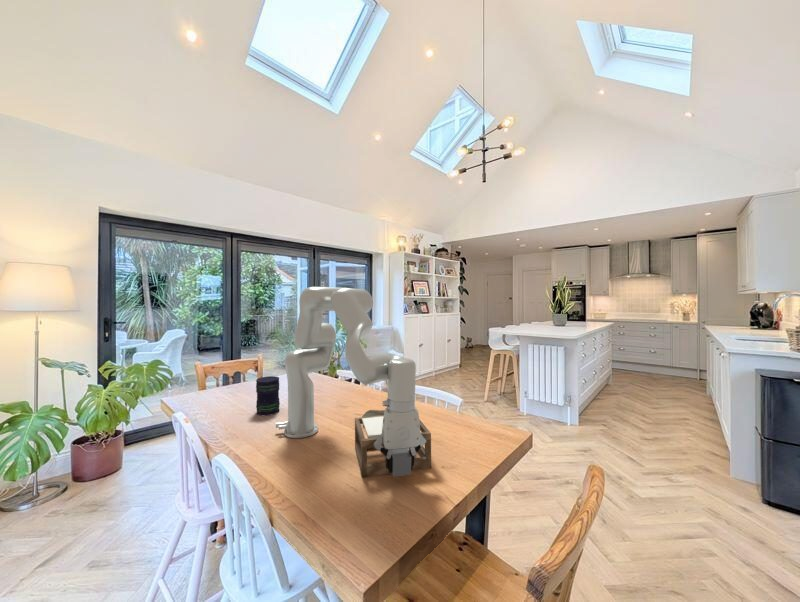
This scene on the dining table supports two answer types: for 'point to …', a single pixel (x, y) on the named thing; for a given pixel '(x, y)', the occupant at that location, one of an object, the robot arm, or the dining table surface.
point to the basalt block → (401, 462)
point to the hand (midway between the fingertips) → (399, 468)
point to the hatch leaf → (373, 426)
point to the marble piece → (373, 413)
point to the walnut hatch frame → (365, 444)
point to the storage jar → (267, 395)
